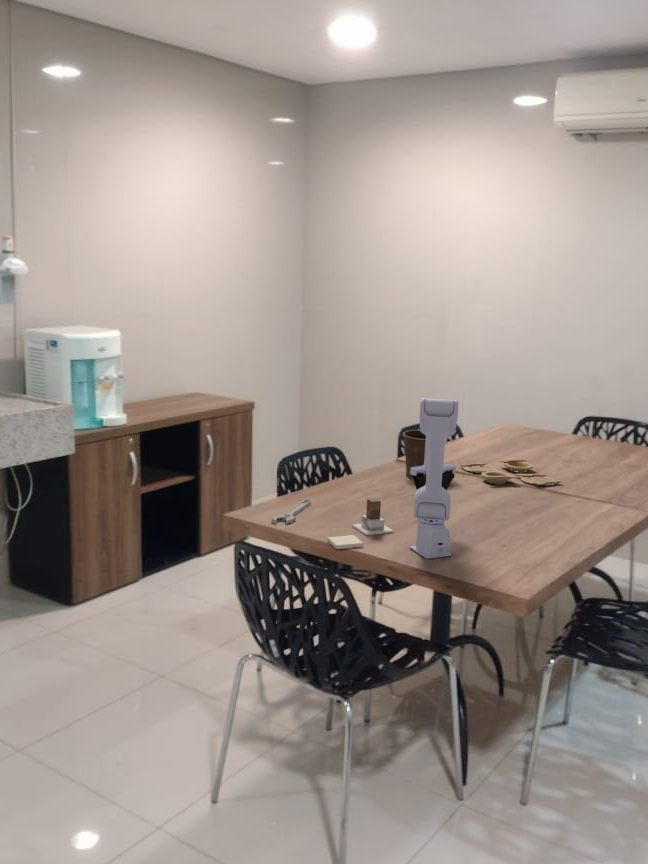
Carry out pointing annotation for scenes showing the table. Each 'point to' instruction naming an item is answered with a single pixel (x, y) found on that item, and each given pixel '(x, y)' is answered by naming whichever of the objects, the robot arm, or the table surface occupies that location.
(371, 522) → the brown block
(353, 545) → the tile
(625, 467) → the table surface
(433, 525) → the robot arm
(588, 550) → the table surface
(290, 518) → the adjustable wrench
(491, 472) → the tableware set
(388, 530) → the mat
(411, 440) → the plant pot
